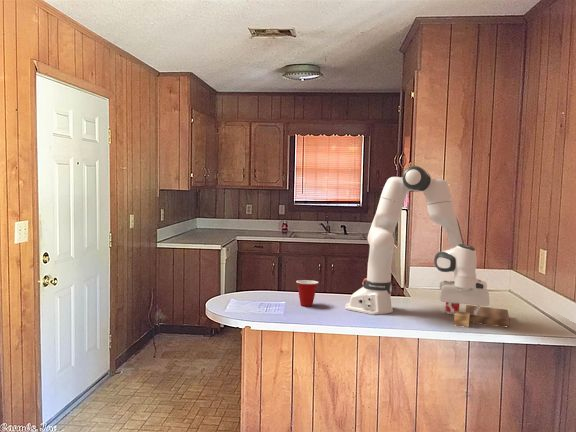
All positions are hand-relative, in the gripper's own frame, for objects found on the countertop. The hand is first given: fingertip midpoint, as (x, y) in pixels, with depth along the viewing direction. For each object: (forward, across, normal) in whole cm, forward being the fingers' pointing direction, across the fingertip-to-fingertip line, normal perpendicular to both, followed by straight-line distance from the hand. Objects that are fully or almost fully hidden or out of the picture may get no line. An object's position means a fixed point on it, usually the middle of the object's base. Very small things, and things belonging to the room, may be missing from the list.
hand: (463, 313), depth 212 cm
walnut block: (+6, +10, +13) cm, 17 cm away
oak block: (+5, -1, -1) cm, 5 cm away
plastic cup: (+4, -72, -1) cm, 72 cm away
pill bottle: (+5, -5, +16) cm, 18 cm away
